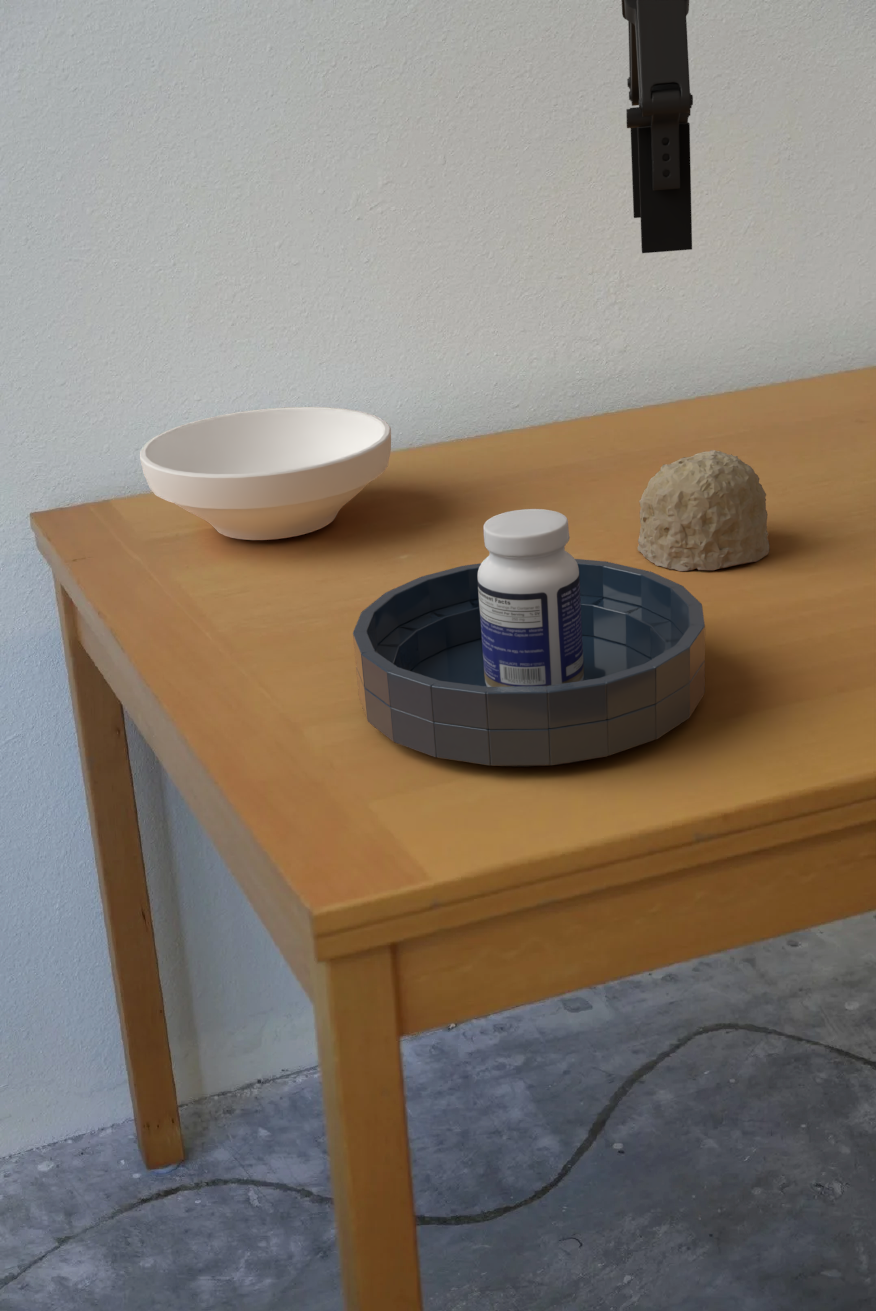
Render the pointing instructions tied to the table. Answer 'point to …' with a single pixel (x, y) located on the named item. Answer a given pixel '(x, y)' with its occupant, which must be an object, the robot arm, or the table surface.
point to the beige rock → (704, 514)
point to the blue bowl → (530, 717)
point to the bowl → (268, 467)
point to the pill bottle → (530, 601)
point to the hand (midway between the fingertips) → (660, 232)
